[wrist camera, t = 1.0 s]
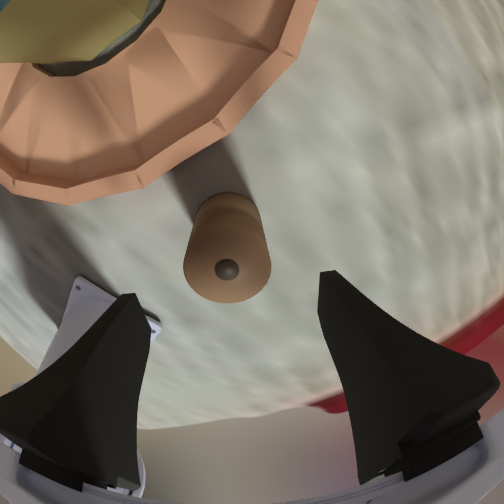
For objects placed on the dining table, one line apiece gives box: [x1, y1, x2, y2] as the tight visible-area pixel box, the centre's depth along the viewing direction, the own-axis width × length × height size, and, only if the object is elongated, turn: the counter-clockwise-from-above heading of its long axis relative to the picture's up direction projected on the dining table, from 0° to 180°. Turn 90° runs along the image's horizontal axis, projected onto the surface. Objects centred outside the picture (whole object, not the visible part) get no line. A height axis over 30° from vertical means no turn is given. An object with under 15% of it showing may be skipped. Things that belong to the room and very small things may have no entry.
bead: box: [183, 192, 271, 303], centre depth 14 cm, size 4×4×5 cm
